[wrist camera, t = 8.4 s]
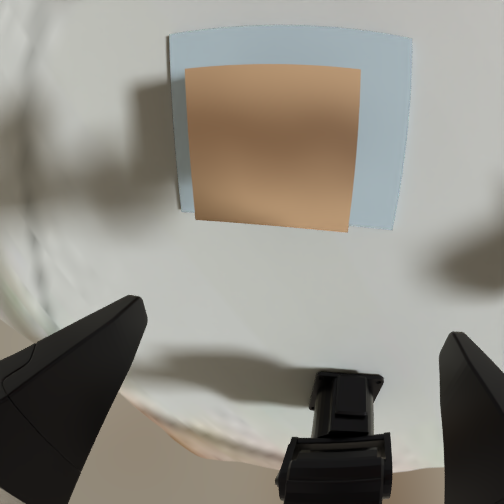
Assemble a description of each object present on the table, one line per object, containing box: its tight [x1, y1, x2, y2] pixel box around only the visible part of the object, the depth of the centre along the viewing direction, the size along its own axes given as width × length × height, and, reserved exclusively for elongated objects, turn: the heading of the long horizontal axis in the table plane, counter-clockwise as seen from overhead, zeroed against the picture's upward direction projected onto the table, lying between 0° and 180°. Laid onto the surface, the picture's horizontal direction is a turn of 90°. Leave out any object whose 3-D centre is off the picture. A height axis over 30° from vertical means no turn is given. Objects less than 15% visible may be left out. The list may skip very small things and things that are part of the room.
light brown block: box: [185, 64, 361, 233], centre depth 14 cm, size 6×6×6 cm
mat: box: [169, 25, 412, 230], centre depth 17 cm, size 12×14×1 cm
